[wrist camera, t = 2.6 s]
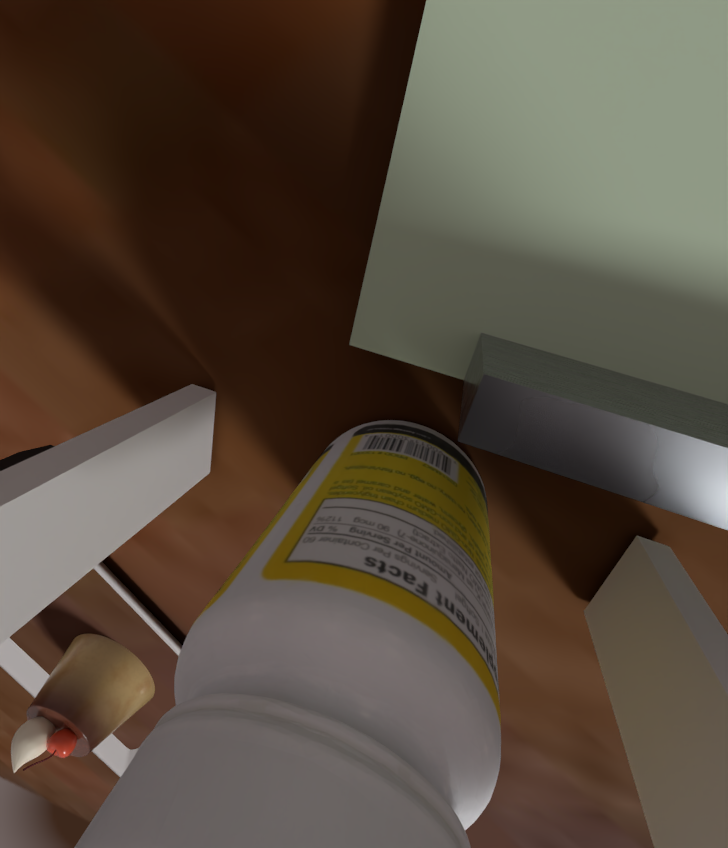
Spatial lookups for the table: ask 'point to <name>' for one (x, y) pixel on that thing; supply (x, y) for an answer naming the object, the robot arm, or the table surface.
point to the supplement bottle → (335, 670)
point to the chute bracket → (598, 428)
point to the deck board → (559, 190)
